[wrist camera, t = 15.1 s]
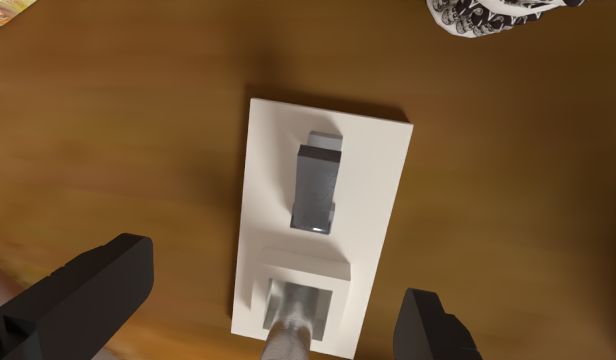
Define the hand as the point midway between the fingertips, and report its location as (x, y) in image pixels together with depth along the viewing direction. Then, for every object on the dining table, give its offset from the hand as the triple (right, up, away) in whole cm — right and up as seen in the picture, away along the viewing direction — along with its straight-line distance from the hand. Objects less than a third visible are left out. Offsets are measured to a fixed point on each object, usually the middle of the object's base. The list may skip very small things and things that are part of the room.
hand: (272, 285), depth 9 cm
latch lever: (+2, +2, +16) cm, 17 cm away
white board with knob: (+1, -3, +24) cm, 25 cm away
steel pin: (0, -9, +25) cm, 27 cm away
